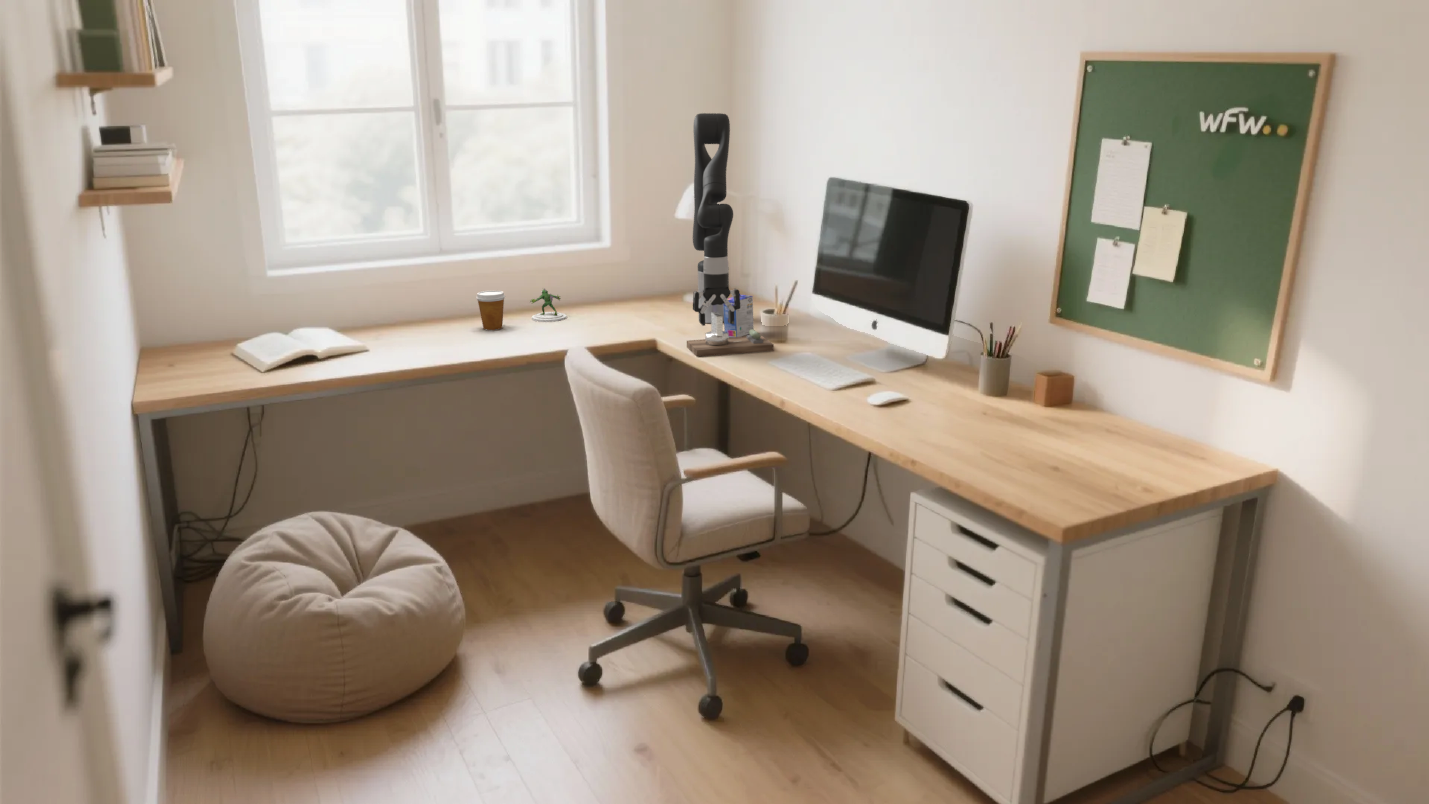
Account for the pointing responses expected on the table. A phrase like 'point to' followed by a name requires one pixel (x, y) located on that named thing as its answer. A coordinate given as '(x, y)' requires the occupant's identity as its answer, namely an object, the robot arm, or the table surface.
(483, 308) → the disposable coffee cup
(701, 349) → the board
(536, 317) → the monster figurine
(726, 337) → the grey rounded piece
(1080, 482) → the table surface
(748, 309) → the ink cartridge box
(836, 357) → the table surface
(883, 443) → the table surface
